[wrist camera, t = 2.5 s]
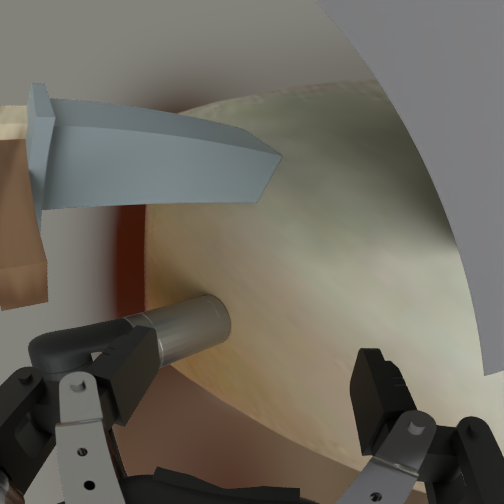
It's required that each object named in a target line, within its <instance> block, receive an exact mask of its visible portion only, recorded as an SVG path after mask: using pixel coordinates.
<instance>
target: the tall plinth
mask: <svg viewBox="0 0 504 504" xmlns="http://www.w3.org/2000/svg"><path fill="white" fill-rule="evenodd" d="M27 115H28V126H27V132H26V151H27V161H28V170H29V177H30V184H31V191H32V197H33V202H34V208H35V213H36V218H37V223H38V227H39V232H41V214H42V210H51V209H63V208H77V207H91V206H92V207H93V206H111V205H132V204H161V203H218V202H245V203H257V202H258V200H259V198H260V196H261V194H262V193H263V191H264V189H265V187H266V185H267V183H268V182H269V180H270V178H271V176H272V174H273V172H274V171H275V169H276V167H277V165H278V163H279V162H280V160H281V158H282V155H280V154H279V153H277V152H276V151H275V150H273V149H272V148H270V147H269V146H267V145H266V144H265V143H263V142H262V141H260V140H259V139H257V138H256V137H254V136H253V135H251V134H250V133H248V132H247V131H245V130H244V129H241V128H237V127H233V126H229V125H225V124H221V123H217V122H212V121H208V120H203V119H199V118H194V117H189V116H184V115H179V114H174V113H169V112H163V111H158V110H152V109H146V108H139V107H133V106H125V105H117V104H110V103H101V102H91V101H81V100H68V99H51V98H49V96H48V92H47V89H46V86H45V83H32V86H31V90H30V94H29V99H28V104H27ZM40 235H41V233H40Z"/></svg>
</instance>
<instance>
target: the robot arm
mask: <svg viewBox="0 0 504 504" xmlns="http://www.w3.org/2000/svg"><path fill="white" fill-rule="evenodd" d="M229 333H230V319H229V315H228V313H227V310H226V308H225V307H224V305H223V304H222V303H221V302H220V300H219V299H217V298H216V297H214V296H212V295H205V296H201V297H197V298H194V299H190V300H186V301H183V302H179V303H175V304H172V305H168V306H164V307H161V308H157V309H153V310H149V311H146V312H142V313H138V314H135V315H131V316H127V317H123V318H120V319H115V320H111V321H106V322H100V323H96V324H92V325H87V326H82V327H77V328H71V329H65V330H59V331H54V332H49V333H45V334H42V335H40V336H38V337H36V338H34V339H33V340H32V341H31V342H30V343H29V346H28V351H29V356H30V359H31V363H32V366H33V367H23V368H20V369H18V370H16V371H15V372H14V373H13V374H12V375H11V376H10V377H9V378H8V379H7V380H6V381H5V382H4V383H3V384H2V385H1V386H0V504H25V499H24V494H25V493H26V491H27V489H28V488H29V486H30V484H31V483H32V481H33V479H34V478H35V476H36V475H37V473H38V472H39V470H40V468H41V467H42V465H43V464H44V462H45V461H46V459H47V457H48V456H49V454H50V453H51V451H52V450H53V448H54V447H55V445H57V455H58V463H59V470H60V476H61V483H62V489H63V494H64V500H65V501H64V502H61V503H58V504H319V503H317V502H315V501H312V500H309V499H306V498H302V497H300V488H282V487H268V486H261V487H250V488H236V489H223V488H220V487H218V486H215V485H213V484H210V483H208V482H205V481H203V480H201V479H198V478H196V477H194V476H191V475H188V474H184V473H179V472H175V471H171V470H168V469H164V468H160V467H157V468H156V470H155V473H154V475H135V476H130V477H128V475H127V473H126V470H125V468H124V465H123V462H122V458H121V456H120V452H119V449H118V445H117V442H116V439H115V435H114V432H113V429H112V426H113V424H114V423H115V424H118V425H121V426H125V425H126V423H127V422H128V420H129V419H130V417H131V415H132V414H133V412H134V410H135V409H136V407H137V406H138V404H139V402H140V401H141V399H142V397H143V396H144V394H145V393H146V391H147V389H148V388H149V386H150V384H151V383H152V381H153V379H154V378H155V376H156V375H157V373H158V370H159V368H161V367H163V366H166V365H168V364H171V363H174V362H176V361H178V360H181V359H183V358H186V357H188V356H191V355H193V354H196V353H198V352H200V351H203V350H205V349H208V348H210V347H212V346H215V345H217V344H219V343H222V342H224V341H225V340H226V339H227V338H228V336H229ZM93 352H102V354H100V355H99V356H98V357H97V358H96V359H95V360H94V362H93V360H92V357H91V353H93ZM350 396H351V401H352V406H353V411H354V415H355V420H356V426H357V431H358V436H359V441H360V447H361V452H362V456H366V455H372V456H373V457H372V458H371V459H370V461H369V462H368V463H367V465H366V466H365V467H364V469H363V470H362V471H361V473H360V474H359V475H358V477H357V478H356V479H355V481H354V482H353V483H352V484H351V486H350V487H349V488H348V489H347V491H346V492H345V493H344V494H343V495H342V496H341V498H340V499H339V500H338V501H337V502H336V503H335V504H404V502H405V500H406V498H407V497H408V495H409V493H410V491H411V490H412V488H413V486H414V484H415V482H416V481H422V482H424V483H425V488H426V493H427V498H428V502H429V504H504V457H503V455H502V453H501V451H500V448H499V446H498V444H497V442H496V440H495V438H494V436H493V434H492V432H491V430H490V428H489V426H488V424H487V423H486V422H485V421H483V420H482V419H480V418H477V417H472V416H470V417H465V418H463V419H462V420H461V421H460V422H459V423H458V425H457V427H447V426H439V425H436V422H435V420H434V419H433V418H432V417H431V416H430V415H429V414H427V413H425V412H422V411H418V410H417V408H416V406H415V403H414V401H413V399H412V397H411V394H410V392H409V390H408V387H407V386H406V383H405V381H404V379H403V376H402V374H401V372H400V370H399V368H398V367H397V366H396V365H394V364H393V363H392V362H391V361H385V360H384V358H383V355H382V353H381V351H380V349H379V348H361V349H360V350H359V352H358V355H357V359H356V363H355V366H354V370H353V373H352V377H351V381H350ZM462 475H463V476H462ZM463 478H464V479H463ZM465 485H466V486H465Z"/></svg>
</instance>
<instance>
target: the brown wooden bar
mask: <svg viewBox="0 0 504 504" xmlns="http://www.w3.org/2000/svg"><path fill="white" fill-rule="evenodd" d="M27 126H28V115H27V106H0V306H1V310H2V311H4V310H8V309H14V308H19V307H24V306H29V305H35V304H40V303H45V302H48V286H47V259H46V256H45V252H44V249H43V244H42V240H41V236H40V232H39V227H38V223H37V218H36V213H35V208H34V202H33V197H32V191H31V184H30V177H29V170H28V161H27V151H26V132H27Z"/></svg>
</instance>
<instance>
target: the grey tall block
mask: <svg viewBox="0 0 504 504" xmlns="http://www.w3.org/2000/svg"><path fill="white" fill-rule="evenodd" d="M317 4H318V5H319V6H320V7H321V8H322V9H323V10H324V12H325V13H326V14H327V15H328V16H329V17H330V18H331V20H332V21H333V22H334V23H335V24H336V26H337V27H338V28H339V29H340V30H341V32H342V33H343V34H344V35H345V36H346V38H347V39H348V40H349V42H350V43H351V44H352V45H353V47H354V48H355V49H356V51H357V52H358V53H359V55H360V56H361V57H362V59H363V60H364V62H365V63H366V64H367V66H368V67H369V69H370V70H371V72H372V73H373V74H374V76H375V77H376V79H377V80H378V82H379V84H380V85H381V87H382V88H383V90H384V91H385V93H386V94H387V96H388V98H389V99H390V101H391V102H392V104H393V106H394V107H395V109H396V111H397V113H398V114H399V116H400V118H401V119H402V121H403V123H404V125H405V127H406V128H407V130H408V132H409V134H410V136H411V138H412V140H413V142H414V143H415V145H416V147H417V149H418V151H419V153H420V155H421V157H422V160H423V162H424V164H425V166H426V168H427V170H428V172H429V174H430V177H431V179H432V181H433V183H434V186H435V188H436V190H437V193H438V195H439V198H440V200H441V203H442V205H443V208H444V210H445V213H446V216H447V218H448V221H449V224H450V227H451V229H452V232H453V235H454V238H455V241H456V244H457V247H458V250H459V254H460V257H461V260H462V264H463V267H464V271H465V274H466V278H467V282H468V286H469V290H470V294H471V298H472V303H473V307H474V312H475V317H476V322H477V327H478V333H479V339H480V346H481V353H482V360H483V369H484V376H486V375H490V374H493V373H496V372H500V371H503V370H504V0H319V1H318V2H317Z"/></svg>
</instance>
